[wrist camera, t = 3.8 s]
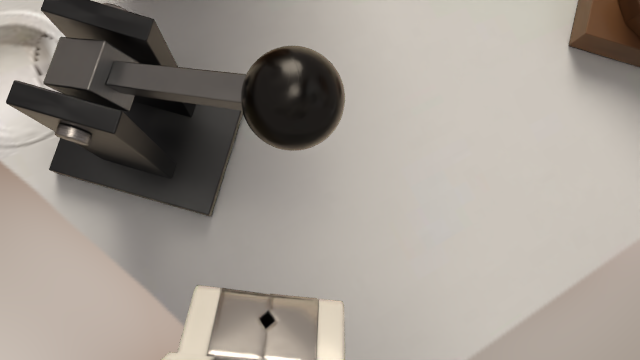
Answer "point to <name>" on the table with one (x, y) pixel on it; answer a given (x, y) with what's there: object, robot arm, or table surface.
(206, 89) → the lever
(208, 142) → the bracket
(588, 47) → the button block
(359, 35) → the table surface
